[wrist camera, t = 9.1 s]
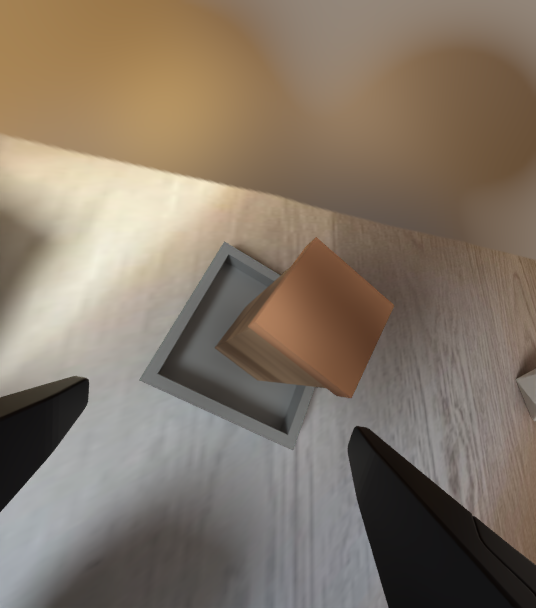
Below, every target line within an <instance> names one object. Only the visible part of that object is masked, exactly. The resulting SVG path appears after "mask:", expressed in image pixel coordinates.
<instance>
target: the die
mask: <svg viewBox="0 0 536 608" xmlns="http://www.w3.org/2000/svg"><path fill="white" fill-rule="evenodd" d="M516 382H517V384H518V387H519V389H520V391H521V394H522V396H523V399H524V401H525V403H526V406H527V408H528V411H529V413H530V415H531V418H532V420H534V421H536V369H534V370H532V371H530V372H528V373H526V374H525V375H523V376H521V377H519V378H517V379H516Z"/></svg>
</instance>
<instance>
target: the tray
mask: <svg viewBox="0 0 536 608" xmlns="http://www.w3.org/2000/svg"><path fill="white" fill-rule="evenodd" d="M280 276H281V275H279V274H277V273H276V272H274V271H272V270H271V269H269V268H267V267H266V266H264V265H263V264H261V263H259V262H258V261H256V260H254V259H253V258H251V257H249V256H248V255H246V254H244V253H243V252H241V251H239V250H238V249H236V248H234V247H233V246H231V245H229V244H228V243H226V242H224V243H223V245H222V246H221V248H220V250H219V251H218V253H217V254H216V256H215V258H214V259H213V261H212V263H211V264H210V266H209V267H208V269H207V271H206V272H205V274H204V276H203V277H202V279H201V280H200V282H199V284H198V285H197V287H196V289H195V290H194V292H193V293H192V295H191V297H190V298H189V300H188V302H187V303H186V305H185V306H184V308H183V310H182V311H181V313H180V315H179V316H178V318H177V319H176V321H175V323H174V324H173V326H172V328H171V329H170V331H169V332H168V334H167V336H166V337H165V339H164V341H163V342H162V344H161V345H160V347H159V349H158V350H157V352H156V354H155V355H154V357H153V358H152V360H151V362H150V363H149V365H148V367H147V368H146V370H145V371H144V373H143V375H142V376H141V378H140V381H142V382H144V383H147V384H149V385H151V386H153V387H155V388H158V389H160V390H162V391H164V392H166V393H169V394H171V395H173V396H175V397H177V398H179V399H182V400H184V401H186V402H188V403H190V404H193V405H195V406H197V407H199V408H201V409H204V410H206V411H208V412H210V413H212V414H214V415H217V416H219V417H221V418H223V419H225V420H228V421H230V422H232V423H234V424H236V425H239V426H241V427H243V428H245V429H247V430H249V431H252V432H254V433H256V434H258V435H260V436H263V437H265V438H267V439H269V440H271V441H274V442H276V443H278V444H280V445H282V446H284V447H287V448H289V449H291V450H293V449H294V446H295V443H296V440H297V438H298V435H299V432H300V429H301V426H302V423H303V420H304V417H305V415H306V412H307V409H308V406H309V403H310V400H311V397H312V394H313V392H314V389H315V387H312V386H303V385H294V384H285V383H276V382H267V381H258V380H256V379H255V378H254V377H252V376H251V375H250V374H248V373H247V372H246V371H244V370H243V369H242V368H240V367H239V366H238V365H236V364H235V363H234V362H232V361H231V360H230V359H228V358H227V357H226V356H224V355H223V354H222V353H220V352H219V351H218V350H216V349H215V346H216V345H217V344H218V342H219V341H220V340H221V338H222V337H223V336H224V335H225V333H226V332H227V331H228V329H229V328H230V327H231V325H232V324H233V323H234V321H235V320H236V319H237V317H238V316H239V315H240V314H241V312H242V311H243V310H244V308H245V307H246V306H247V305H248V304H249V303H250V302H251V301H253V300H254V299H255V298H256V297H257V296H258V295H259V294H260V293H262V292H263V291H264V290H265V289H266V288H267V287H268V286H270V285H271V284H272V283H273V282H274V281H275V280H276V279H277V278H279V277H280Z"/></svg>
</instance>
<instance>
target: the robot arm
mask: <svg viewBox="0 0 536 608" xmlns="http://www.w3.org/2000/svg"><path fill="white" fill-rule="evenodd" d="M88 394H89V380H88V379H87V378H84V377H78V376H72V377H69V378H65V379H62V380H59V381H55V382H52V383H48V384H45V385H41V386H38V387H35V388H31V389H28V390H24V391H21V392H17V393H14V394H10V395H7V396H4V397H0V512H1V511H2V510H3V509H4V507H5V506H6V505H7V504H8V503H9V502H10V501H11V499H12V498H13V497H14V496H15V495H16V494H17V493H18V491H19V490H20V489H21V488H22V487H23V486H24V485H25V484H26V482H27V481H28V480H29V479H30V478H31V477H32V476H33V474H34V473H35V472H36V471H37V470H38V469H39V468H40V466H41V465H42V464H43V463H44V462H45V461H46V460H47V458H48V457H49V456H50V455H51V454H52V452H53V451H54V450H55V448H56V447H57V446H58V445H59V443H60V442H61V440H62V439H63V438H64V436H65V435H66V434H67V432H68V431H69V430H70V428H71V427H72V425H73V424H74V423H75V421H76V420H77V419H78V417H79V416H80V414H81V413H82V412H83V410H84V409H85V407H86V406H87V403H88ZM348 456H349V461H350V466H351V472H352V477H353V482H354V487H355V492H356V497H357V501H358V505H359V508H360V512H361V515H362V519H363V522H364V526H365V529H366V532H367V536H368V539H369V543H370V546H371V549H372V553H373V556H374V560H375V563H376V566H377V570H378V573H379V577H380V580H381V583H382V587H383V590H384V594H385V597H386V600H387V604H388V607H389V608H536V565H535V564H534V563H532V562H531V561H530V560H529V559H527V558H526V557H525V556H523V555H522V554H521V553H519V552H518V551H517V550H516V549H514V548H513V547H512V546H511V545H509V544H508V543H507V542H506V541H504V540H503V539H502V538H501V537H499V536H498V535H497V534H496V533H494V532H493V531H492V530H491V529H490V528H488V527H487V526H486V525H485V524H484V523H482V522H481V521H480V520H479V519H478V518H476V517H475V516H472V514H471V513H470V512H469V511H468V510H467V509H465V508H464V507H463V506H462V505H460V504H459V503H458V502H457V501H456V500H454V499H453V498H452V497H451V496H450V495H448V494H447V493H446V492H445V491H444V490H442V489H441V488H440V487H439V486H437V485H436V484H435V483H434V482H433V481H431V480H430V479H429V478H428V477H427V476H425V475H424V474H423V473H422V472H421V471H419V470H418V469H417V468H416V467H414V466H413V465H412V464H411V463H410V462H408V461H407V460H406V459H405V458H404V457H402V456H401V455H400V454H399V453H398V452H396V451H395V450H394V449H393V448H392V447H390V446H389V445H388V444H387V443H385V442H384V441H383V440H382V439H381V438H379V437H378V436H377V435H376V434H375V433H373V432H372V431H371V430H370V429H368V428H366V427H360V426H356V427H355V428H354V430H353V432H352V435H351V438H350V441H349V444H348Z"/></svg>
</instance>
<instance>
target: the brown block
mask: <svg viewBox="0 0 536 608" xmlns="http://www.w3.org/2000/svg"><path fill="white" fill-rule="evenodd" d="M393 307H394V305H393V304H392V303H391V302H390V301H389V300H388V299H386V298H385V297H384V296H383V295H382V294H381V293H380V292H378V291H377V290H376V289H375V288H374V287H373V286H372V285H370V284H369V283H368V282H367V281H366V280H365V279H363V278H362V277H361V276H360V275H359V274H358V273H357V272H355V271H354V270H353V269H352V268H351V267H350V266H349V265H347V264H346V263H345V262H344V261H343V260H342V259H341V258H339V257H338V256H337V255H336V254H335V253H334V252H333V251H331V250H330V249H329V248H328V247H327V246H326V245H325V244H323V243H322V242H321V241H320V240H319V239H318V238H317V237H316V238H315V239H314V240H313V241H311V242H310V243H309V244H308V245H307V246H306V247H305V248H304V250H303V251H302V253H301V254H300V255H299V257H298V258H297V259H296V261H295V262H294V263H293V265H292V266H291V267H290V268H289V269H288V270H286V271H285V272H284V273H283V274H282V275H281V276H280V277H279V278H277V279H276V280H275V281H274V282H273V283H272V284H271V285H270V286H268V287H267V288H266V289H265V290H264V291H263V292H262V293H260V294H259V295H258V296H257V297H256V298H255V299H254V300H253V301H251V302H250V303H249V304H248V305H247V306H246V307H245V308H244V310H243V311H242V312H241V314H240V315H239V316H238V317H237V319H236V320H235V321H234V323H233V324H232V325H231V327H230V328H229V329H228V331H227V332H226V333H225V335H224V336H223V337H222V338H221V340H220V341H219V342H218V344H217V345H216V346H215V349H216V350H218V351H219V352H220V353H222V354H223V355H224V356H226V357H227V358H228V359H230V360H231V361H232V362H234V363H235V364H236V365H238V366H239V367H240V368H242V369H243V370H244V371H246V372H247V373H248V374H250V375H251V376H252V377H254V378H255V379H256V380H258V381H267V382H276V383H285V384H294V385H303V386H312V387H321V388H327V389H328V390H330V391H331V392H332V393H333V394H335V395H336V396H340V397H347V398H352V396H353V394H354V392H355V390H356V387H357V385H358V383H359V381H360V379H361V377H362V374H363V372H364V370H365V368H366V366H367V364H368V361H369V359H370V357H371V355H372V353H373V351H374V348H375V346H376V344H377V342H378V340H379V338H380V335H381V333H382V331H383V329H384V327H385V325H386V322H387V320H388V318H389V316H390V314H391V312H392V309H393Z"/></svg>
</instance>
